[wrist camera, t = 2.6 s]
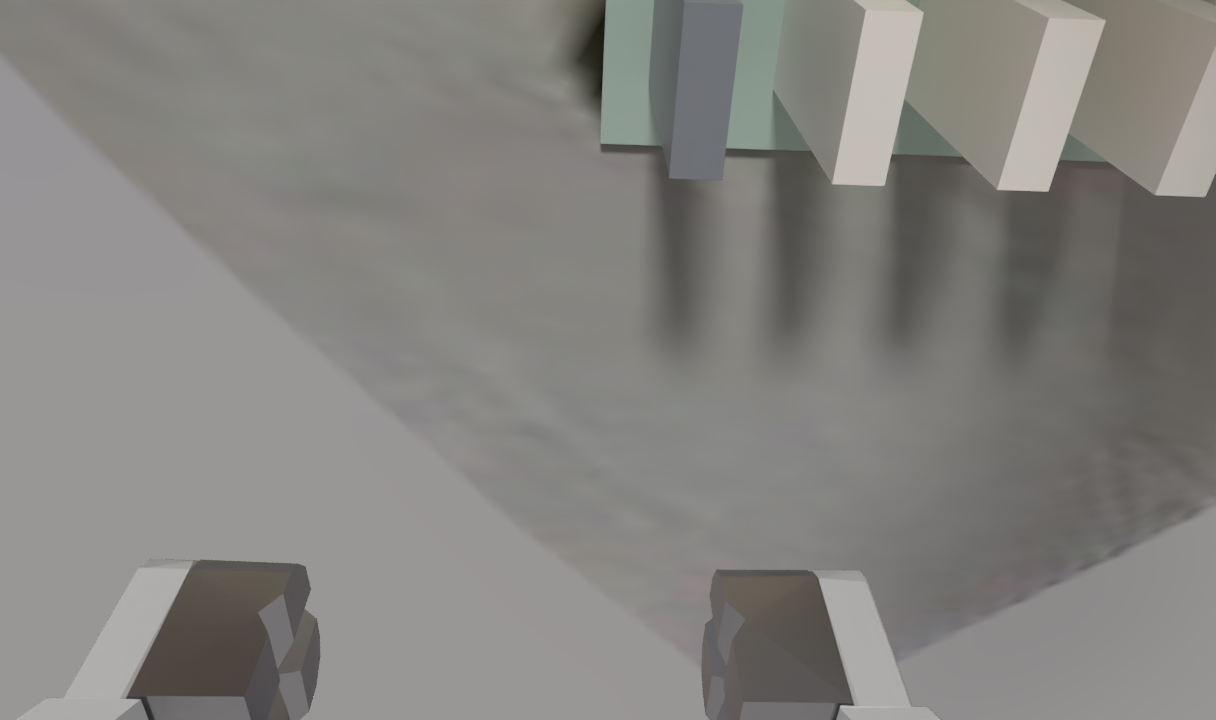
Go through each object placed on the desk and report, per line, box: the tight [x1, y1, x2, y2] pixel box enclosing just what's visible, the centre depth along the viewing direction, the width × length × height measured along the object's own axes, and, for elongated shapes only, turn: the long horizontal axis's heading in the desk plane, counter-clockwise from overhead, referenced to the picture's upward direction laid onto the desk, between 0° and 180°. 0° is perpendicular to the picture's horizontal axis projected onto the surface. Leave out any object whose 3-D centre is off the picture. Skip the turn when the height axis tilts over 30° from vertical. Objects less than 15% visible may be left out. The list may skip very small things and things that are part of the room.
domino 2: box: [773, 0, 924, 186], centre depth 30 cm, size 2×5×10 cm, turn 177°
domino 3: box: [904, 0, 1106, 192], centre depth 30 cm, size 2×5×10 cm, turn 177°
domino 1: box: [648, 0, 743, 180], centre depth 29 cm, size 2×5×10 cm, turn 177°
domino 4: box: [1062, 0, 1216, 197], centre depth 30 cm, size 2×5×10 cm, turn 177°
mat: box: [600, 0, 1108, 162], centre depth 34 cm, size 25×10×1 cm, turn 87°
